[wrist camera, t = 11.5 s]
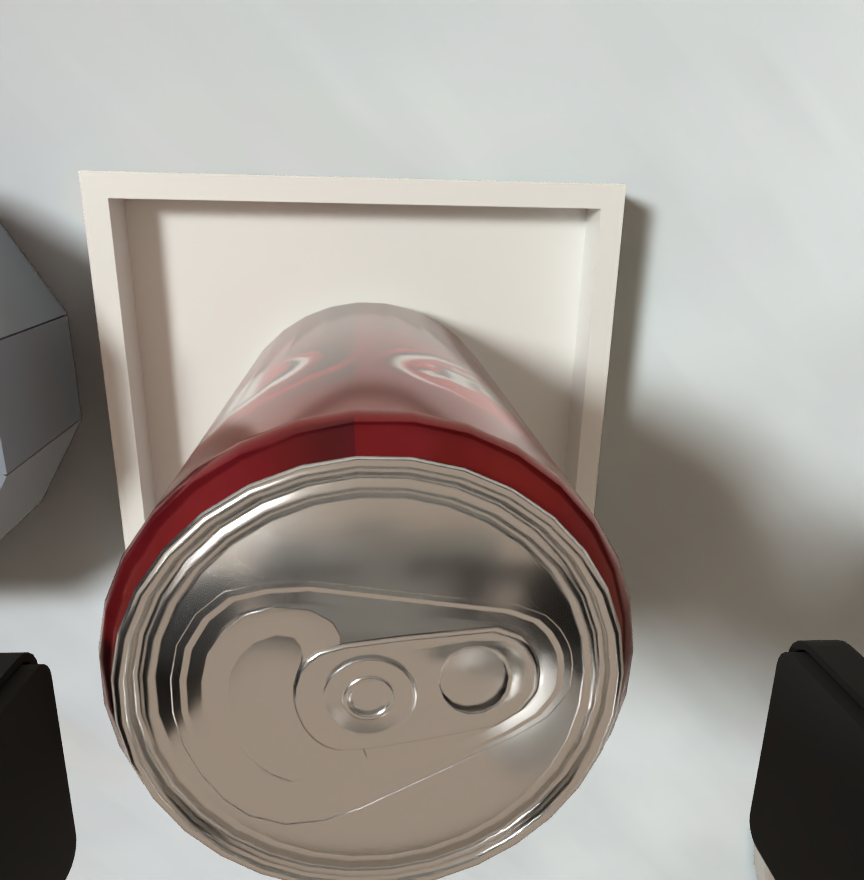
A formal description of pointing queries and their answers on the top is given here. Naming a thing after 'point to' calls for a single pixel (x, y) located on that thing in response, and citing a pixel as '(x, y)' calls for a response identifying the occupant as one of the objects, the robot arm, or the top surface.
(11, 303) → the holder
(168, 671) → the soda can
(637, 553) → the top surface
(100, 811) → the top surface
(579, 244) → the tray
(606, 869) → the top surface
